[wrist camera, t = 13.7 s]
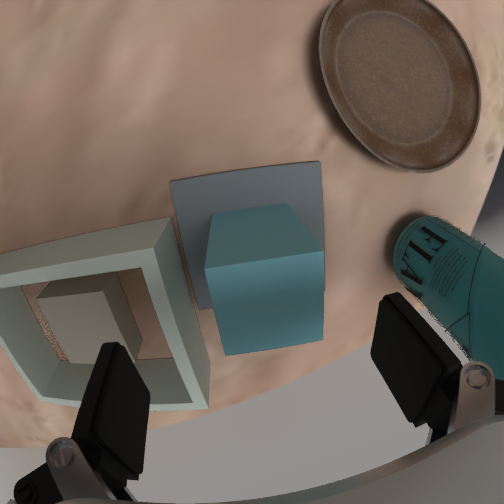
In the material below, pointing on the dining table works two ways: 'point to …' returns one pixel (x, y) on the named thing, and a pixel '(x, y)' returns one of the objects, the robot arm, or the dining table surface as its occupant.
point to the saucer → (401, 81)
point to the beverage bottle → (456, 285)
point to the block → (264, 279)
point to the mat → (243, 206)
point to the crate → (102, 314)
